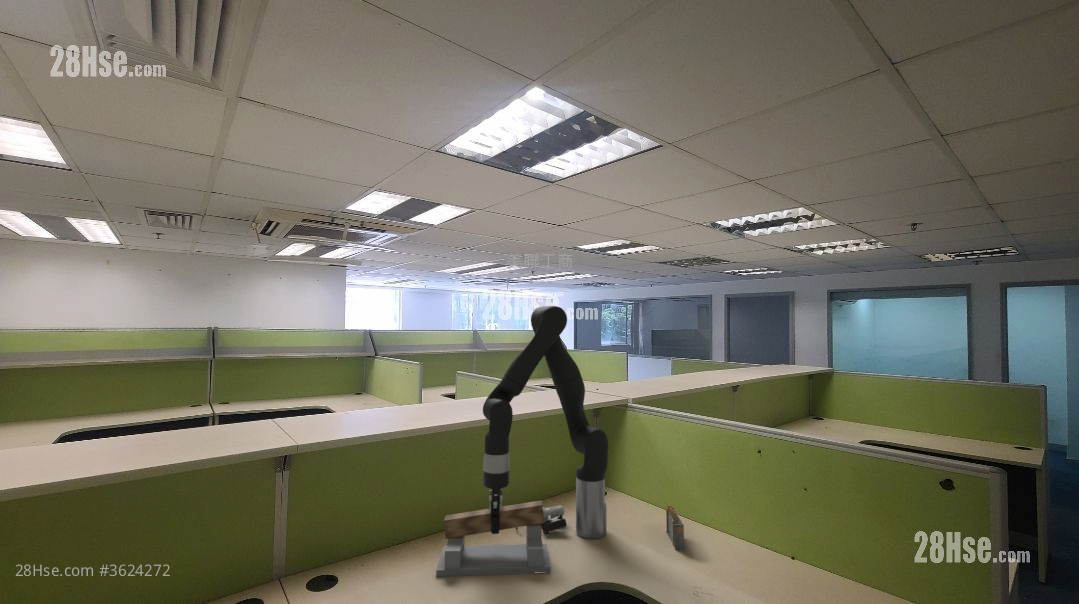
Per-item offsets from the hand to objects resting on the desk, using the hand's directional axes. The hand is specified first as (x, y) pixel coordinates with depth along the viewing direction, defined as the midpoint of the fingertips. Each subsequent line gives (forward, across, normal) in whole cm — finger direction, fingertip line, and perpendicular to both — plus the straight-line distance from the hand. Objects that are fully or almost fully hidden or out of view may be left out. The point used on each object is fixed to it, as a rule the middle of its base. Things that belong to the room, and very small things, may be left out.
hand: (495, 529), depth 125 cm
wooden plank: (0, 0, 0) cm, 0 cm away
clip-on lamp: (+8, +19, -14) cm, 24 cm away
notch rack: (+7, -3, 0) cm, 8 cm away
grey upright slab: (+8, +7, -55) cm, 56 cm away
